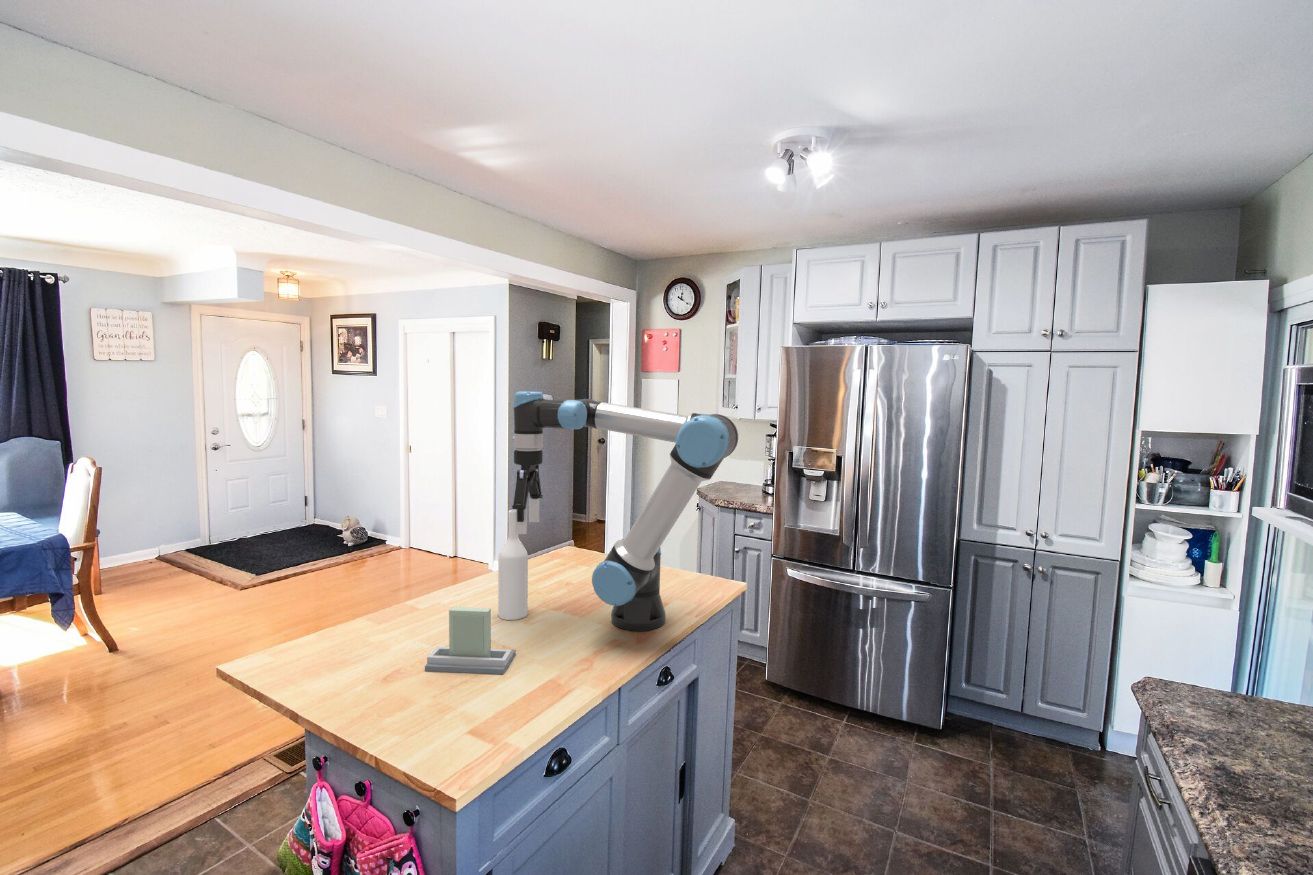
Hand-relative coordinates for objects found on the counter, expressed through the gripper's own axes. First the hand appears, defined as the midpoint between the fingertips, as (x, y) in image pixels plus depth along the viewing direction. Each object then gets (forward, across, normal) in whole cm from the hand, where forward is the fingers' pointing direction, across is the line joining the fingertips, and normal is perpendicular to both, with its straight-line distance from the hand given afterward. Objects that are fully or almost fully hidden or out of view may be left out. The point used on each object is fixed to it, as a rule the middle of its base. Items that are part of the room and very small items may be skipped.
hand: (528, 527), depth 162 cm
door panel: (+26, +25, -7) cm, 36 cm away
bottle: (+27, -6, -6) cm, 28 cm away
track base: (+27, +24, -7) cm, 37 cm away
